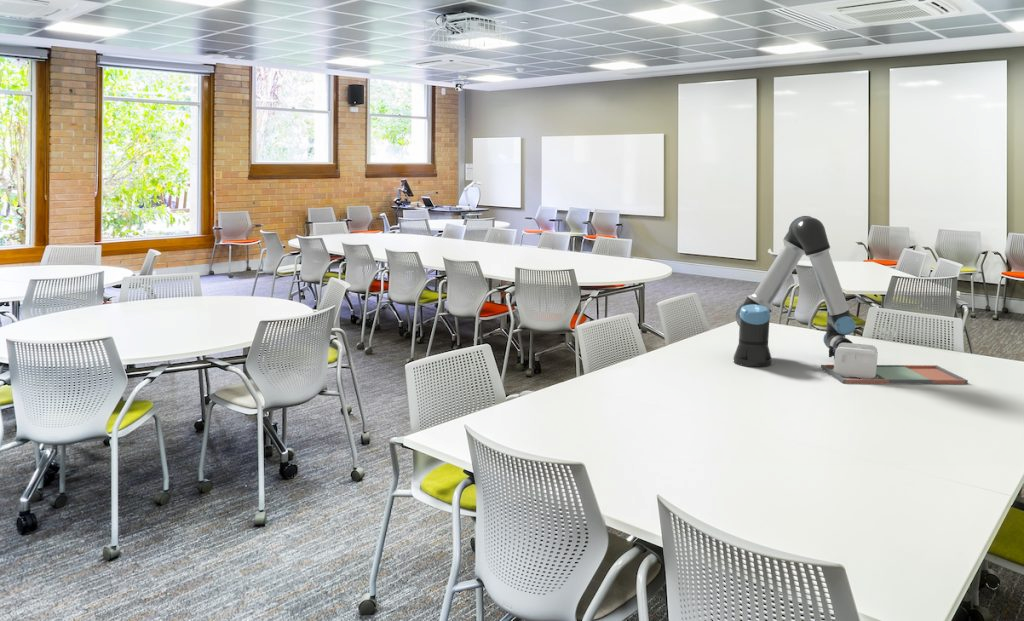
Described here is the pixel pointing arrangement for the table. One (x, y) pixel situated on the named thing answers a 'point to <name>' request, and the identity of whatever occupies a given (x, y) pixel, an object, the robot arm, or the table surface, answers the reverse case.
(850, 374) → the cable organizer
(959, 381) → the divided tray
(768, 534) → the table surface
